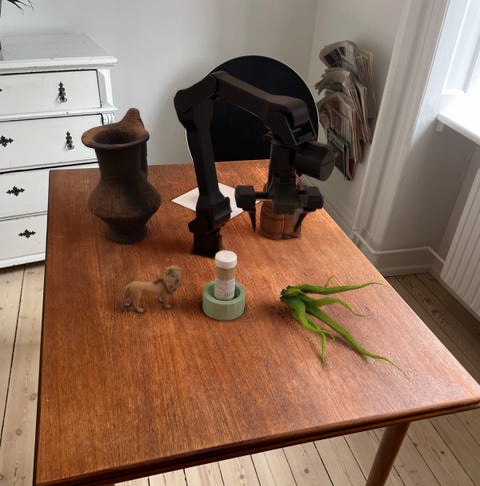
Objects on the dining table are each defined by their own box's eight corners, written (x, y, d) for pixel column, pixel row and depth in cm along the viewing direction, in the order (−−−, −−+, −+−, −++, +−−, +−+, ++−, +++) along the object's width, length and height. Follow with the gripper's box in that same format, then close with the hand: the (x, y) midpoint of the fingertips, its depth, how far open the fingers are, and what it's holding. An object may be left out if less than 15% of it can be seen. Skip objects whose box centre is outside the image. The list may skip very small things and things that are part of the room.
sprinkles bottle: (230, 298, 114) (233, 248, 106) (235, 311, 111) (239, 260, 102) (211, 301, 113) (212, 250, 104) (215, 313, 110) (218, 262, 101)
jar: (196, 314, 110) (196, 298, 107) (211, 290, 117) (211, 274, 114) (236, 324, 108) (237, 308, 105) (249, 300, 115) (250, 284, 112)
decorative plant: (320, 398, 93) (334, 341, 84) (275, 301, 115) (283, 247, 105) (406, 386, 97) (430, 329, 87) (348, 294, 119) (361, 241, 109)
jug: (145, 259, 125) (137, 139, 106) (79, 244, 128) (59, 126, 109) (176, 221, 141) (174, 111, 122) (116, 208, 144) (105, 100, 125)
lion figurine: (177, 291, 115) (177, 258, 110) (186, 304, 112) (186, 271, 106) (115, 305, 110) (111, 272, 104) (121, 320, 106) (117, 286, 101)
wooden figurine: (262, 241, 135) (269, 178, 124) (257, 229, 140) (263, 167, 129) (304, 239, 138) (314, 177, 126) (297, 227, 142) (307, 167, 131)
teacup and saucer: (207, 191, 156) (207, 179, 153) (227, 199, 153) (228, 187, 150) (189, 201, 150) (189, 188, 148) (209, 209, 147) (210, 197, 144)
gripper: (242, 181, 95) (237, 251, 105) (336, 183, 98) (322, 251, 108) (236, 158, 104) (231, 224, 114) (323, 160, 106) (311, 225, 116)
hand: (274, 231), depth 113 cm, fingers open, 9 cm apart
